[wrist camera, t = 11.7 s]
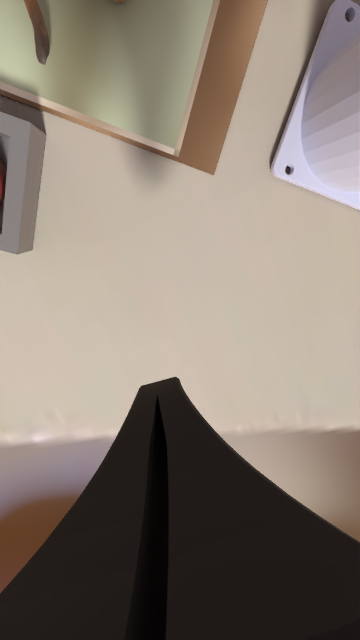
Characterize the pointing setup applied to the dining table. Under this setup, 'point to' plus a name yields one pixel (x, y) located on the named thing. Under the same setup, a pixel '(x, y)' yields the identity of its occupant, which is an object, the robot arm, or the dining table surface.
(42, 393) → the dining table surface
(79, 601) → the robot arm
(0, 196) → the button
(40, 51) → the lion figurine
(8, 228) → the button housing
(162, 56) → the picture sheet
